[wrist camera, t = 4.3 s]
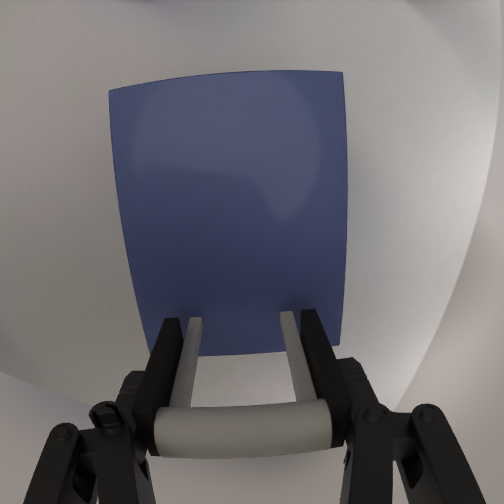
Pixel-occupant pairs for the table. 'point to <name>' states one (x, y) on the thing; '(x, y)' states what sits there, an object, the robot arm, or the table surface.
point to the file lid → (235, 239)
